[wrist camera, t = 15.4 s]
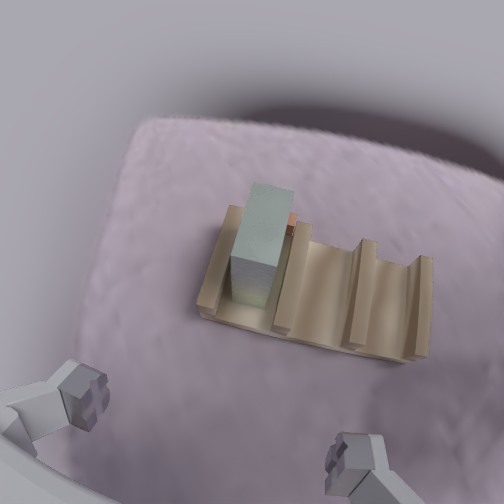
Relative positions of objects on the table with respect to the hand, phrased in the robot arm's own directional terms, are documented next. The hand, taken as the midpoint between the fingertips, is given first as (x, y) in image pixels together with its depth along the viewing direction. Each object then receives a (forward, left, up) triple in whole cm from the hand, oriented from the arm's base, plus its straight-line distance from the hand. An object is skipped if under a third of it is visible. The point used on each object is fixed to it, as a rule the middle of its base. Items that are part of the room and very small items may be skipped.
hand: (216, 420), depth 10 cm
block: (-10, -7, -17) cm, 21 cm away
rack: (-14, -1, -19) cm, 23 cm away
